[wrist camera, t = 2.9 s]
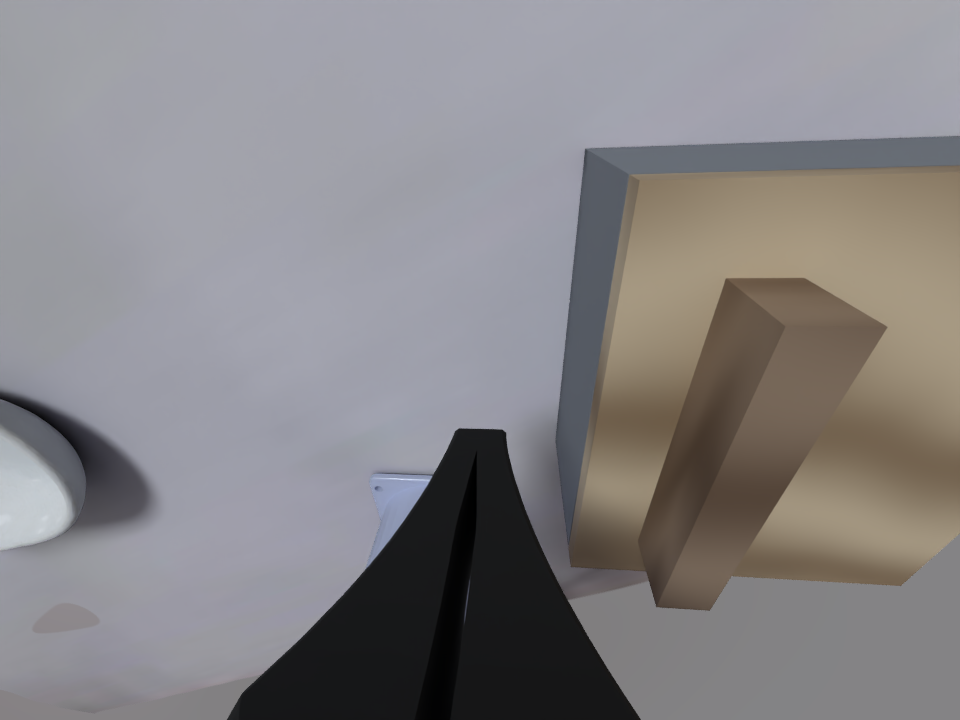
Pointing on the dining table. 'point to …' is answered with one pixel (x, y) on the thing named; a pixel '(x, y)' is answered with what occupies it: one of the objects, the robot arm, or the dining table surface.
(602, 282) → the box
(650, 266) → the lid
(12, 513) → the spoon rest
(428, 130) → the dining table surface
